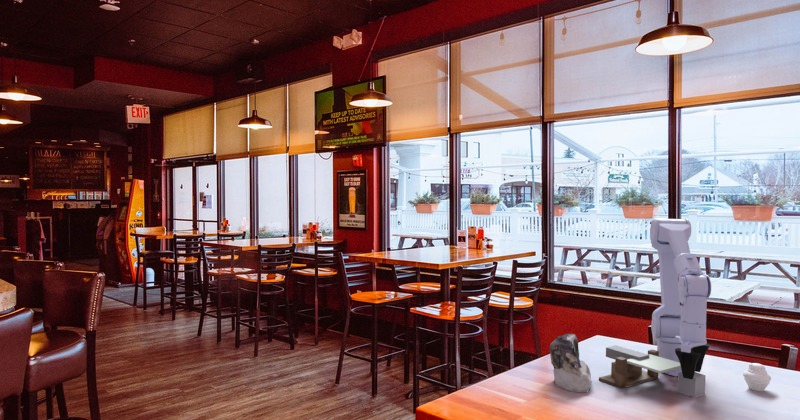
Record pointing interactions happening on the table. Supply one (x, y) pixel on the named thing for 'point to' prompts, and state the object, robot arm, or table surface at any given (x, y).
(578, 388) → the stone
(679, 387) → the granite cube
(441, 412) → the table surface
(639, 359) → the trapdoor
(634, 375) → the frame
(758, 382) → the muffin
